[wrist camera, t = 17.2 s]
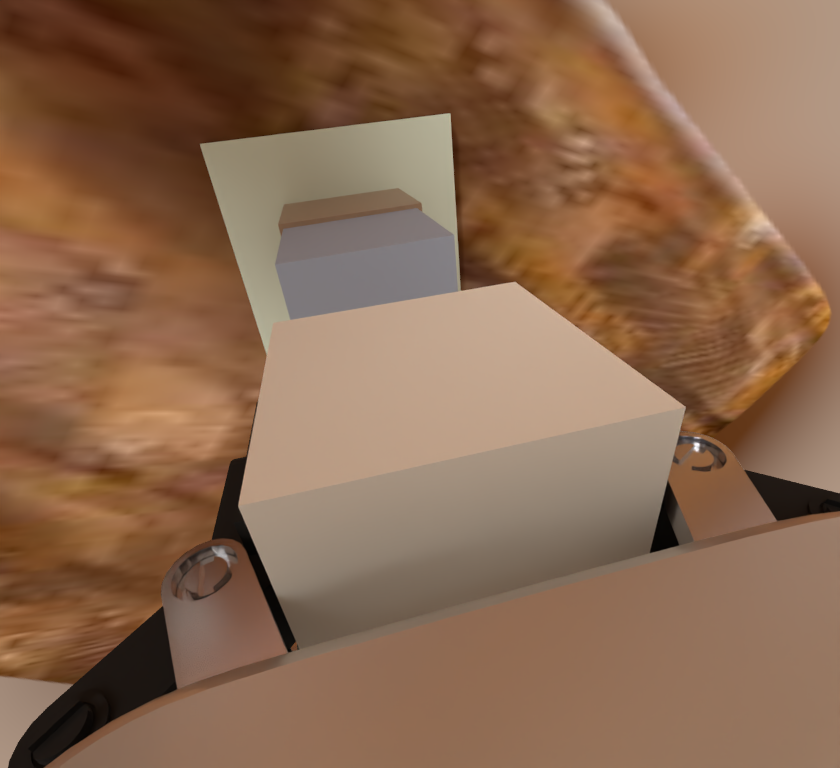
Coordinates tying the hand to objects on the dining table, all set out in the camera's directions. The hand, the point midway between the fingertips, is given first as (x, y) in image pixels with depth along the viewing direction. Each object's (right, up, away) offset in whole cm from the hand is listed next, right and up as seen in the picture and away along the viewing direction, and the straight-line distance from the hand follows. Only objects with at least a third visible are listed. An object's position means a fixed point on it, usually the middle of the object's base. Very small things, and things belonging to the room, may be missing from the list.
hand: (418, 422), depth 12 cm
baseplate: (-4, +9, +16) cm, 19 cm away
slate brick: (-3, +6, +10) cm, 12 cm away
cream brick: (0, 0, +1) cm, 1 cm away
